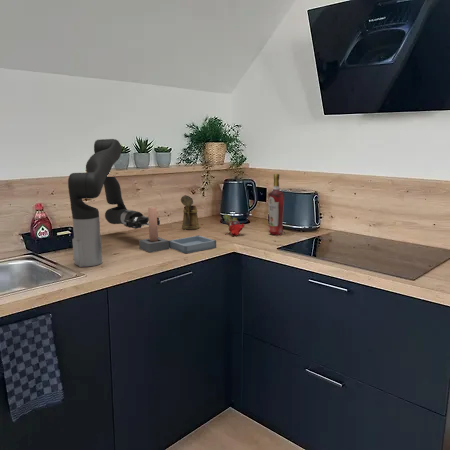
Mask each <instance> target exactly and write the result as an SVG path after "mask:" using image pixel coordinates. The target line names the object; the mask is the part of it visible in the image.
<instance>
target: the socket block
mask: <svg viewBox="0 0 450 450" xmlns="http://www.w3.org/2000/svg"><path fill="white" fill-rule="evenodd" d="M169 241H170V240H167V239H166V238H162V237H159V236H158V241H157V242H150V237H149V238H145V239H139V240H138V247H139V250H142V251H145V252H147V253H155V252H160V251H167V250H170V248H169Z"/></svg>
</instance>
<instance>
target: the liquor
mask: <svg viewBox="0 0 450 450" xmlns="http://www.w3.org/2000/svg"><path fill="white" fill-rule="evenodd" d="M272 175H273V177H272V178H273V187H272V191H270V192H269V193H268V195H267V196H268V215H269V216H268V217H269V230H268V232H269V233H270V235H273V236H280V235H282V234H283V233H284V230H283V229H284V228H283V226H284V224H283V223H284V208H285V193H284V192H283V191H281V190H280V173H273V174H272Z"/></svg>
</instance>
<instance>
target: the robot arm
mask: <svg viewBox="0 0 450 450" xmlns="http://www.w3.org/2000/svg"><path fill="white" fill-rule="evenodd" d="M93 152H94V153H93V154H92V155H90V157H89V159H88V160H87V162H86V164H85V171H86V172H72V173H70V174H69V175H68V180H67V186H68V188H67V189H68V195H69V202H70V209H71V211H70V212H71V215H72V216H71V217H72V230H73V238H71V239H72V240H71V242H72V253H73V262H74V265H76V266H77V267H80V268H83V267H95V266H99V265H101V264H102V263H103V253H102V252H103V251H102V249H103V248H102V238H101V224H100V223H101V222H100V211H99V208H97V207H95V206H91V205H89V204H87V203H85V202H84V201H83V200H84V199H85V200H86V199H95V198H98V197H100V194H101V193H102V190H103V187H104V192H105V194H104V195H105V199H106V203H107V204H108V205H112V206H113V205H117V206H114V207H111V208H108V209H107V210H106V211H105V212H104V218H105V220H106V222H108V223H109V224H112V225H123V226H124V227H127V228H129V229H130V228H132V229H133V230H139V229H141V228H142V227H143V226H149V217H148V216H145V215H143V213H141V212H140V211H136V210H133V209H127V207H126V205H125V202H124V200H123V196H122V188H121V186H120V185H121V184H120V183H119V181H118V179H117V178H116V176H114V177H107V175H108V174H109V172H111V171H112V168H113V166H114V164H116V162H117V161H118V160H119V159H120V158H121V155H122V146H121V143H120V141H119V140H117V139H115V138H108V139H107V138H105V139H101V138H100V139H96V140H95V141H94V145H93ZM160 221H161V220H160V217H158V216H157V226H160V224H161V223H160Z"/></svg>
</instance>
